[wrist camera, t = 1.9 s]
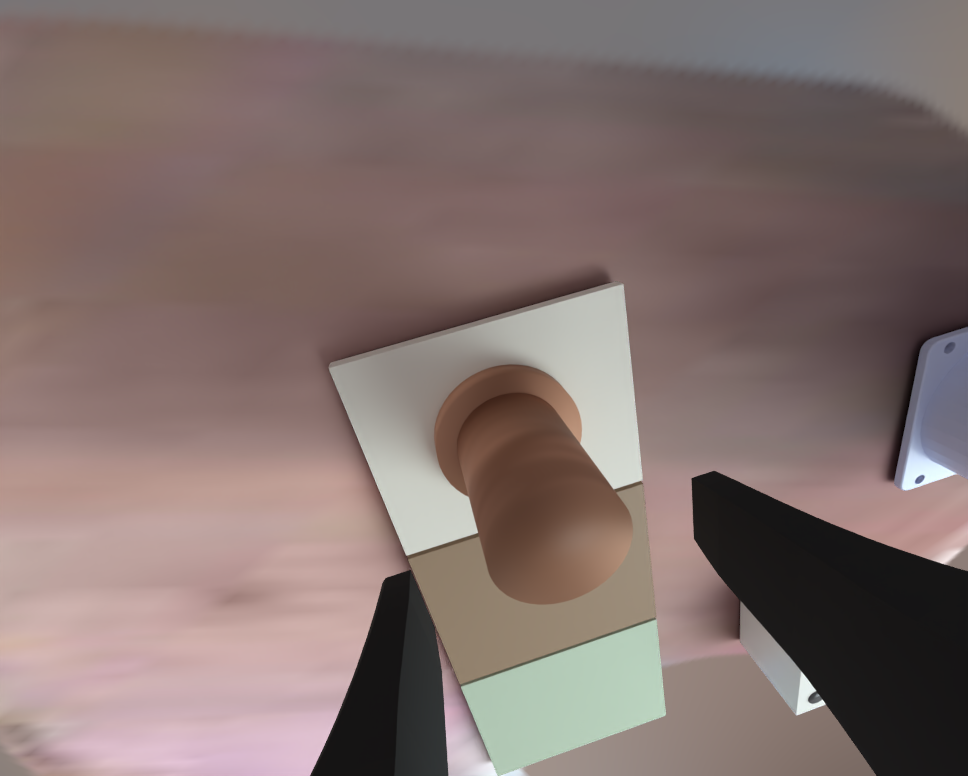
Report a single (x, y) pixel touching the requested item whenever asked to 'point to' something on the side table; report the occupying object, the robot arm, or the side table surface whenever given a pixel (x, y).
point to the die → (777, 665)
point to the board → (456, 544)
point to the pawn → (531, 485)
